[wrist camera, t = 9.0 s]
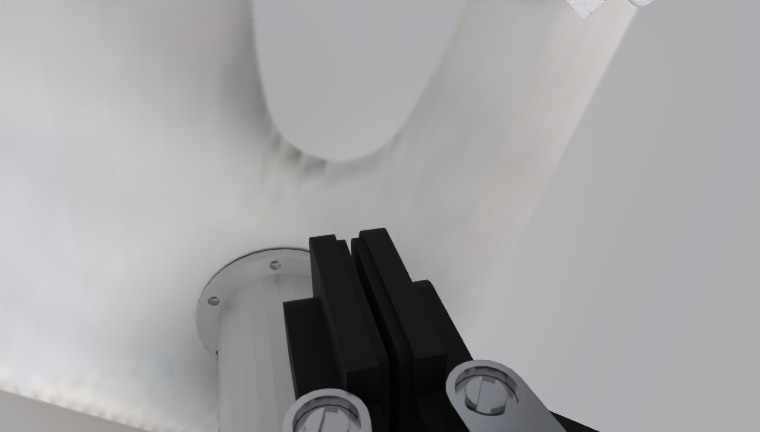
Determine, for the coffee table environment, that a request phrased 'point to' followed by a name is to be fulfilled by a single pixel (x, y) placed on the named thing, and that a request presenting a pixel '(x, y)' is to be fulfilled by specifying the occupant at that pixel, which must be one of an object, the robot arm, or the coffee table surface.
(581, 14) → the character figurine
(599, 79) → the coffee table surface
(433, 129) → the coffee table surface
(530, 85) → the coffee table surface
